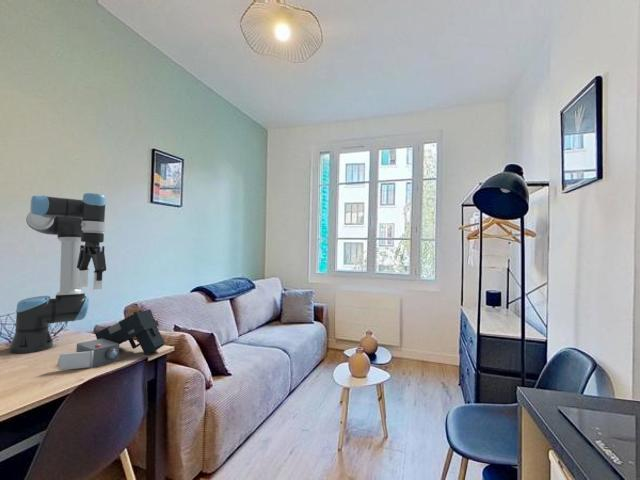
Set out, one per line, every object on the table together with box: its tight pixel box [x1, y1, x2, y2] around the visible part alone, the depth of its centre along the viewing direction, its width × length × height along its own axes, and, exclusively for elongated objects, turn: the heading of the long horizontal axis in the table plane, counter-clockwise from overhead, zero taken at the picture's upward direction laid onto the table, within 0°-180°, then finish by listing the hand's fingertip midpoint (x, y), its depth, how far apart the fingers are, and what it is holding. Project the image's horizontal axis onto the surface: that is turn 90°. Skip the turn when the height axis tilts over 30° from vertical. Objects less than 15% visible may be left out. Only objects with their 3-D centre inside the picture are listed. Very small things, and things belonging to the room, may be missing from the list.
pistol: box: [94, 309, 166, 356], centre depth 154 cm, size 10×27×20 cm, turn 79°
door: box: [57, 350, 94, 371], centre depth 130 cm, size 11×2×6 cm, turn 114°
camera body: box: [75, 338, 120, 368], centre depth 139 cm, size 16×10×8 cm, turn 59°
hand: (90, 287), depth 132 cm, fingers open, 10 cm apart
